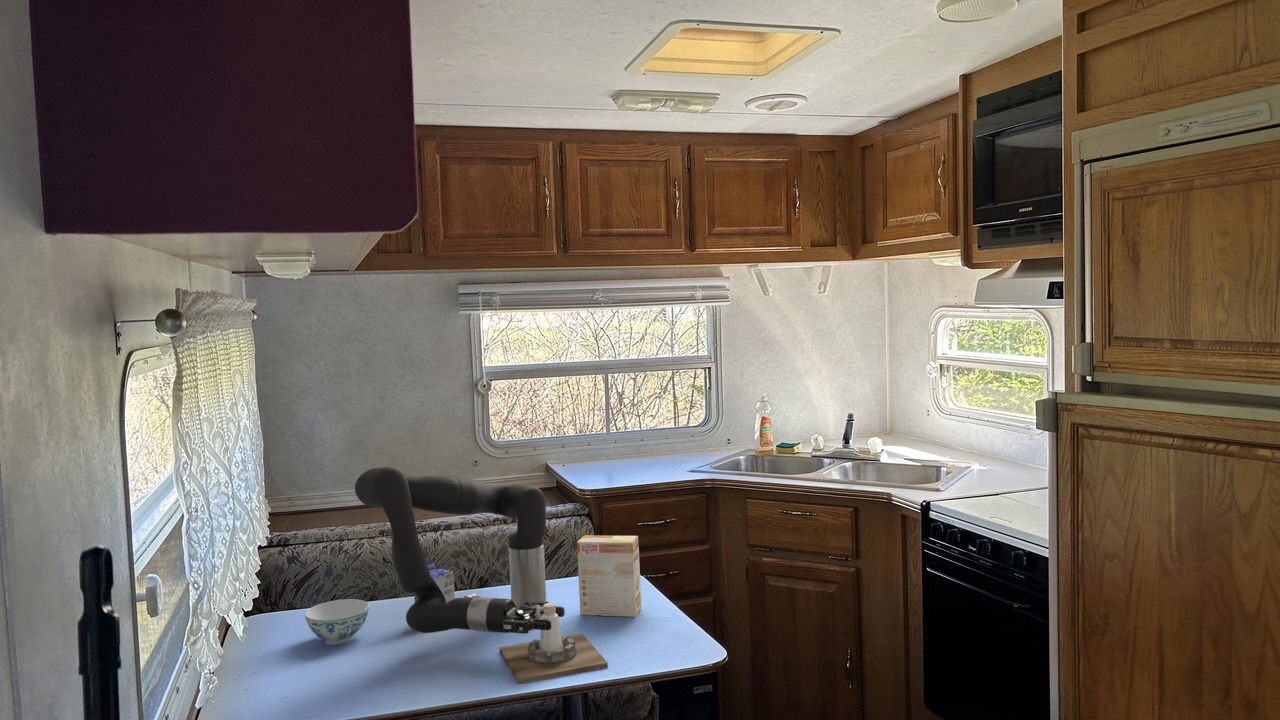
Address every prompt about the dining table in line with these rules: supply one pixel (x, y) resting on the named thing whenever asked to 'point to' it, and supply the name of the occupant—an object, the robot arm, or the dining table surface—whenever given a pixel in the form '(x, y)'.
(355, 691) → the dining table surface
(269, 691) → the dining table surface
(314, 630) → the chinaware
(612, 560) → the coffeecake box
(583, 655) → the collar board
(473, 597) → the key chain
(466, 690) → the dining table surface
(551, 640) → the pepper shaker
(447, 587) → the ink cartridge box
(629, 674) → the dining table surface
